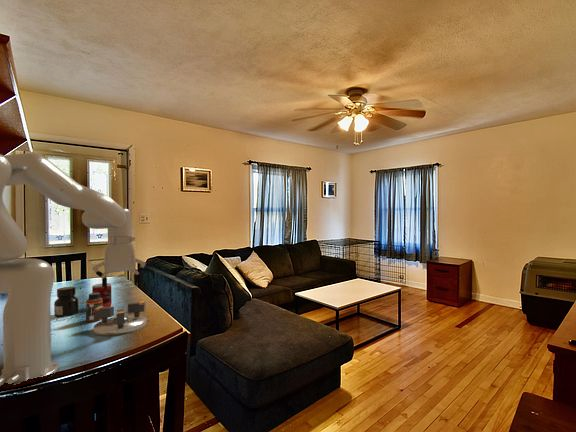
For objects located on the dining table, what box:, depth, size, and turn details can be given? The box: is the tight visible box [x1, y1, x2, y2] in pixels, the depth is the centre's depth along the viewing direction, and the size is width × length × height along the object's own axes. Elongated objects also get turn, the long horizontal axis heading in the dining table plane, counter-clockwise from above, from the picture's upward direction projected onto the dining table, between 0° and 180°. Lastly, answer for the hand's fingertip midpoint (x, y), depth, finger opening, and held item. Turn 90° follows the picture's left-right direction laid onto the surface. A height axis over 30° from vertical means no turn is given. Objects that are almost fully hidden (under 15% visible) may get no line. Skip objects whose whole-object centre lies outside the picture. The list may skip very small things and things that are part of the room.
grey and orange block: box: [127, 300, 146, 317], centre depth 120 cm, size 6×2×6 cm, turn 105°
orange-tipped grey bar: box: [95, 306, 115, 323], centre depth 115 cm, size 6×2×6 cm, turn 89°
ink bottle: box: [53, 286, 80, 318], centre depth 133 cm, size 10×9×12 cm
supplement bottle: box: [85, 292, 103, 323], centre depth 124 cm, size 6×6×11 cm
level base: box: [93, 314, 147, 337], centre depth 114 cm, size 18×18×4 cm
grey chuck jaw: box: [116, 308, 125, 327], centre depth 109 cm, size 6×2×6 cm, turn 29°
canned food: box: [91, 282, 113, 307], centre depth 144 cm, size 8×8×11 cm
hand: (120, 286), depth 109 cm, fingers open, 9 cm apart
